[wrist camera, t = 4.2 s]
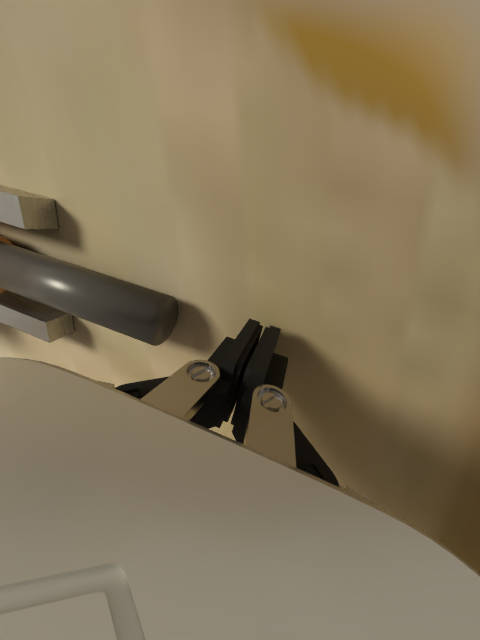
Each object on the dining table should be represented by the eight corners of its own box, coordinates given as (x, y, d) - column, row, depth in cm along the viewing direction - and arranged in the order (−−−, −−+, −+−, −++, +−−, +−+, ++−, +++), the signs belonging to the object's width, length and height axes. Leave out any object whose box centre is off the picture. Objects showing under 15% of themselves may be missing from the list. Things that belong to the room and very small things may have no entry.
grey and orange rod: (181, 276, 12) (119, 300, 8) (175, 342, 14) (123, 386, 10) (-53, 206, 16) (-172, 200, 12) (-32, 267, 18) (-128, 278, 14)
